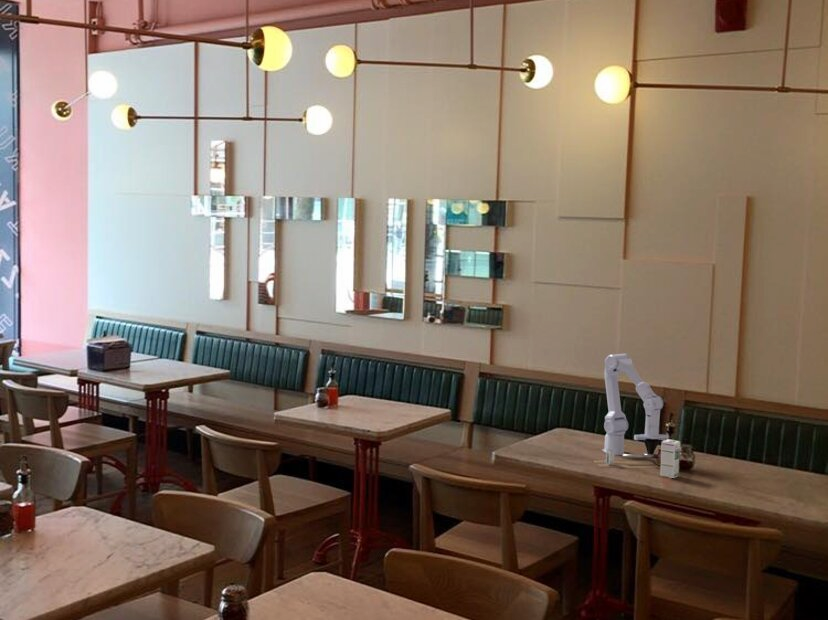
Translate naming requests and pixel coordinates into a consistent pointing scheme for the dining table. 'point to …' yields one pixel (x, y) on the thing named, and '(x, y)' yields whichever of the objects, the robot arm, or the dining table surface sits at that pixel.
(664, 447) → the syrup box
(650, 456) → the red knobbed metal rod
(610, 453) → the square metal loop
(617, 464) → the light tan board
